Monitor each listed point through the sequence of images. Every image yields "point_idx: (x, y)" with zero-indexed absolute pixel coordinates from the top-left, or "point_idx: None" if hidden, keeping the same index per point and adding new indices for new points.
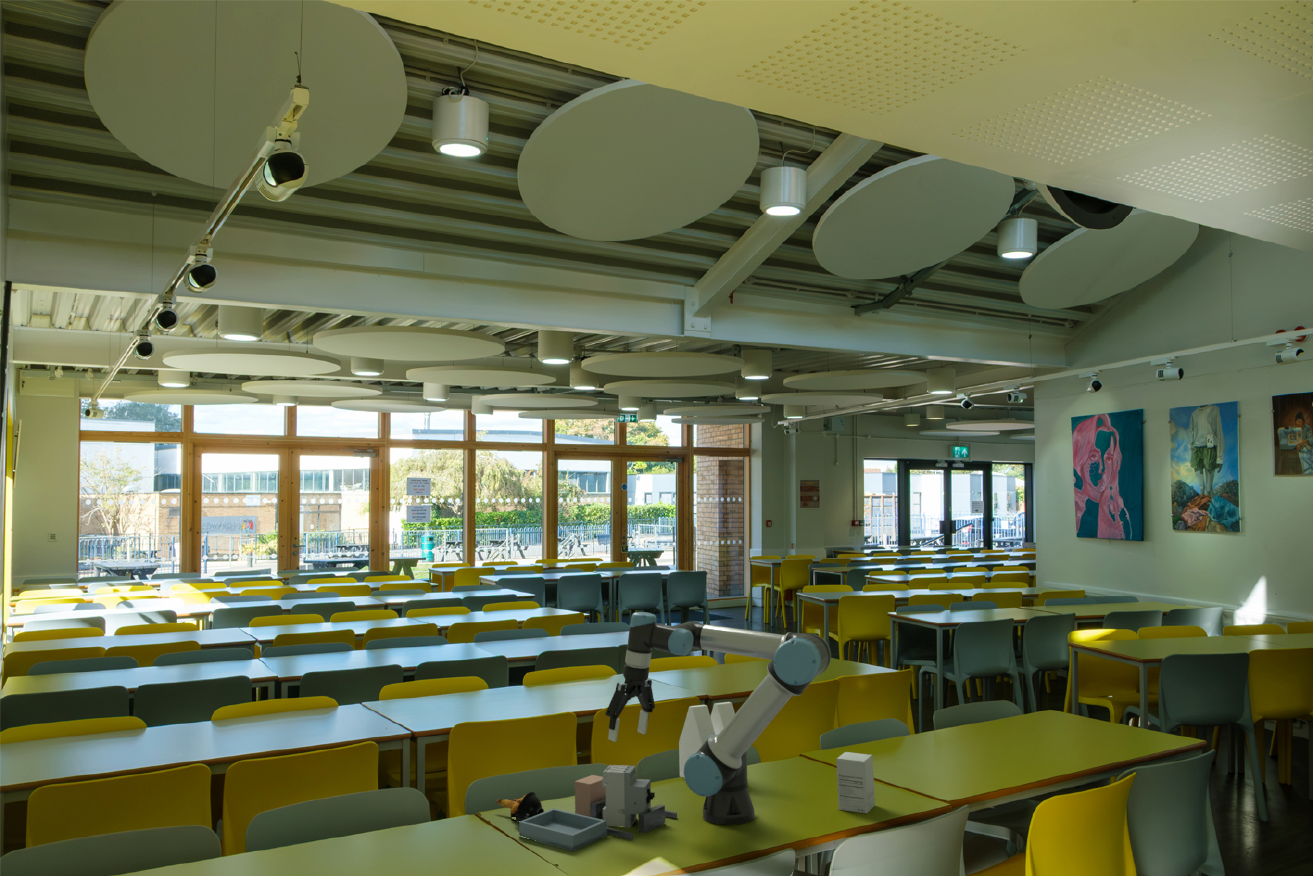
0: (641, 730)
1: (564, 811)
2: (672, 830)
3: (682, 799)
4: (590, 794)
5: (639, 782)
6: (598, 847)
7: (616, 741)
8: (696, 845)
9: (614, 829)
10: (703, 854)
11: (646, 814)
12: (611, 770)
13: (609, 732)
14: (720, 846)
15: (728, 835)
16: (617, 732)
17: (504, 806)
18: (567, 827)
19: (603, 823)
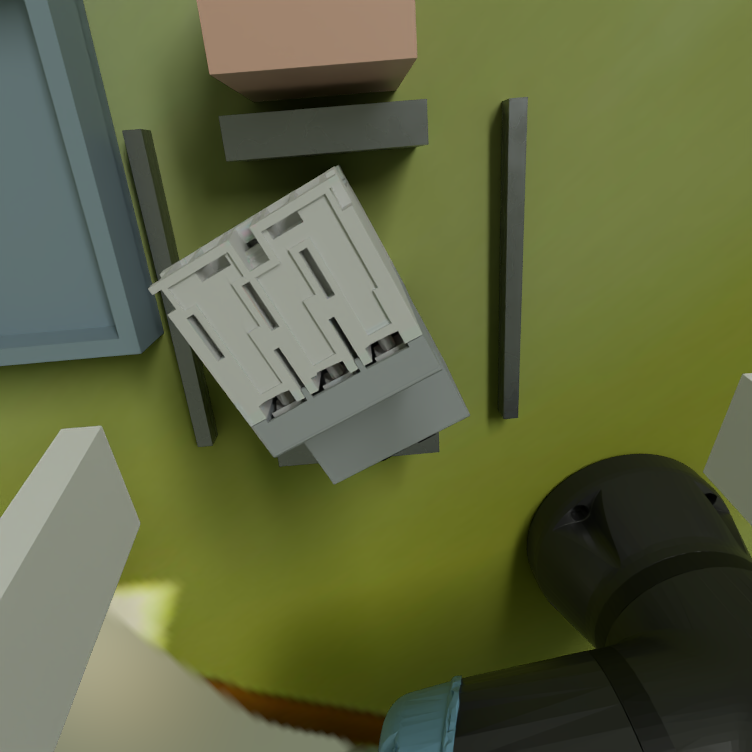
0: (746, 455)
1: (49, 45)
2: (386, 477)
3: (747, 268)
4: (229, 83)
5: (385, 405)
6: (60, 393)
7: (137, 526)
8: (325, 606)
9: (187, 359)
10: (282, 655)
11: (298, 463)
12: (233, 304)
13: (14, 516)
14: (365, 652)
15: (458, 622)
16: (86, 642)
17: None
18: (49, 138)
19: (120, 353)
